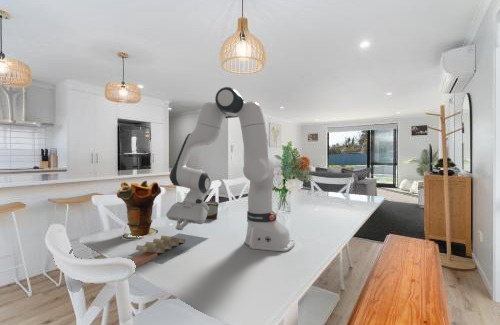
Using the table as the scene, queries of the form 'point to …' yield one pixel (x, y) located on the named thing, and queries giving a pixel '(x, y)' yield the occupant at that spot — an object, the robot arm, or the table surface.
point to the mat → (175, 248)
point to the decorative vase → (139, 208)
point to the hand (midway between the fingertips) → (178, 229)
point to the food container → (212, 210)
